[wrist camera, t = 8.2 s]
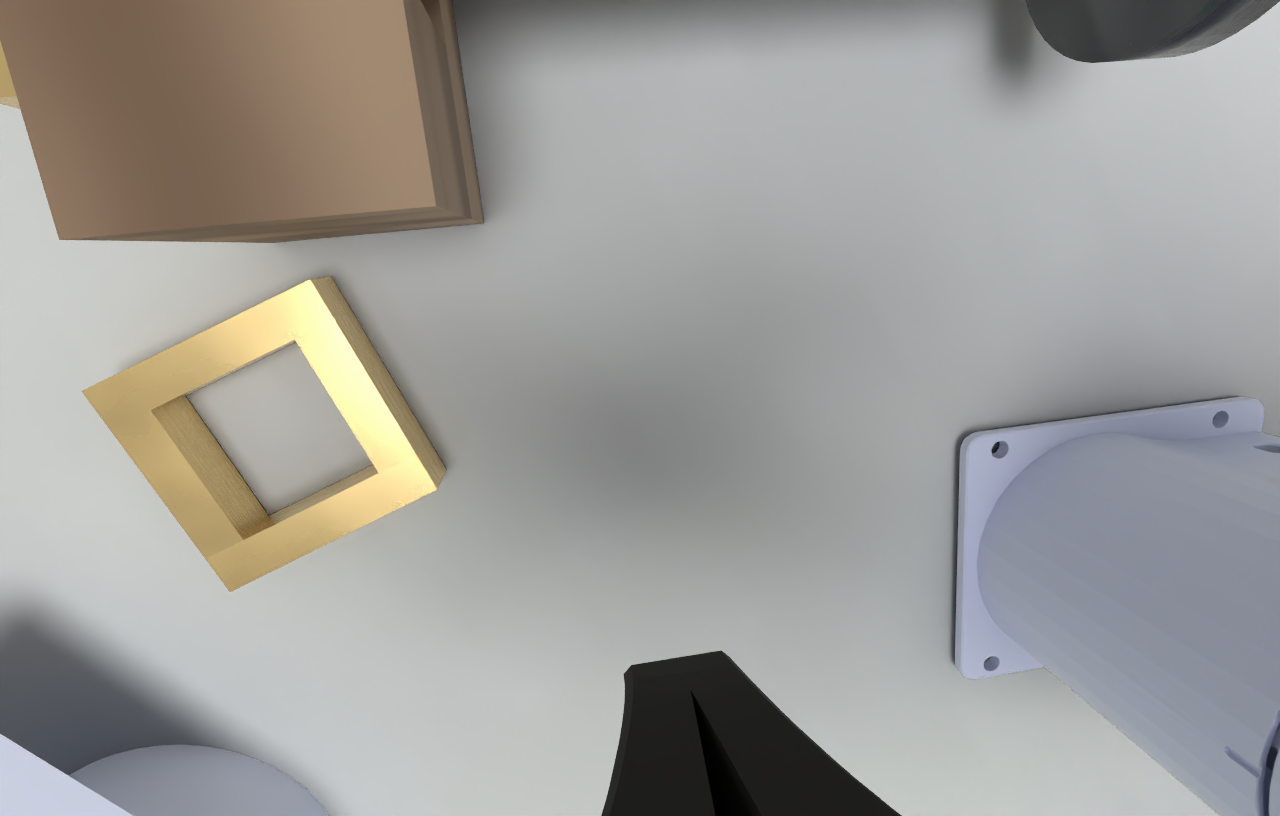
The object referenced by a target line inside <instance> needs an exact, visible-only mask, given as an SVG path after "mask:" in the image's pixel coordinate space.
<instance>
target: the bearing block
mask: <svg viewBox="0 0 1280 816" xmlns="http://www.w3.org/2000/svg"><path fill="white" fill-rule="evenodd" d="M0 41H1V45H2V48H3V52H4V55H5V58H6V62H7V65H8V68H9V72H10V75H11V78H12V82H13V85H14V89H15V92H16V95H17V99H18V102H19V105H20V109H21V112H22V116H23V119H24V122H25V126H26V129H27V132H28V136H29V139H30V142H31V146H32V149H33V153H34V156H35V159H36V163H37V166H38V169H39V173H40V176H41V180H42V183H43V186H44V190H45V193H46V196H47V200H48V203H49V207H50V210H51V213H52V217H53V220H54V223H55V227H56V230H57V233H58V237H59V240H113V241H182V242H251V243H276V242H287V241H297V240H308V239H319V238H330V237H341V236H352V235H362V234H373V233H384V232H395V231H406V230H417V229H427V228H438V227H449V226H460V225H471V224H482V223H484V218H483V211H482V204H481V197H480V190H479V183H478V176H477V170H476V163H475V156H474V149H473V142H472V135H471V128H470V121H469V114H468V108H467V101H466V94H465V87H464V80H463V73H462V66H461V59H460V53H459V46H458V39H457V32H456V25H455V18H454V11H453V4H452V0H0Z"/></svg>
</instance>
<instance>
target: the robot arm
mask: <svg viewBox="0 0 1280 816" xmlns="http://www.w3.org/2000/svg"><path fill="white" fill-rule="evenodd" d="M1215 415H1216V416H1215ZM1214 416H1215V419H1214V420H1213V418H1214ZM1263 419H1264V406H1263V404H1262V403H1261V402H1260V401H1259V400H1257V399H1254V398H1249V397H1234V398H1227V399H1219V400H1212V401H1204V402H1197V403H1189V404H1182V405H1175V406H1167V407H1160V408H1152V409H1145V410H1137V411H1130V412H1122V413H1115V414H1107V415H1100V416H1092V417H1085V418H1077V419H1070V420H1062V421H1055V422H1047V423H1040V424H1032V425H1025V426H1017V427H1010V428H1002V429H995V430H987V431H980V432H975V433H972V434H970V435H969V436H967V437H966V438H965V439H964V441H963V442H962V444H961V448H960V470H959V511H958V553H957V594H956V636H955V665H956V668H957V669H958V671H959V672H960V673H961V674H962V675H963V676H964V677H966V678H968V679H980V678H985V677H991V676H997V675H1003V674H1008V673H1014V672H1020V671H1026V670H1031V669H1037V668H1043V667H1045V668H1047V669H1048V670H1049V671H1050V672H1051V673H1052V674H1054V675H1055V676H1056V677H1057V678H1058V679H1060V680H1061V681H1062V682H1063V683H1064V684H1065V685H1067V686H1068V687H1069V688H1070V689H1071V690H1072V691H1074V692H1075V693H1076V694H1077V695H1078V696H1080V697H1081V698H1082V699H1083V700H1084V701H1085V702H1087V703H1088V704H1089V705H1090V706H1091V707H1092V708H1094V709H1095V710H1096V711H1097V712H1098V713H1100V714H1101V715H1102V716H1103V717H1104V718H1105V719H1107V720H1108V721H1109V722H1110V723H1111V724H1112V725H1114V726H1115V727H1116V728H1117V729H1118V730H1120V731H1121V732H1122V733H1123V734H1124V735H1125V736H1127V737H1128V738H1129V739H1130V740H1131V741H1132V742H1134V743H1135V744H1136V745H1137V746H1138V747H1140V748H1141V749H1142V750H1143V751H1144V752H1145V753H1147V754H1148V755H1149V756H1150V757H1151V758H1152V759H1154V760H1155V761H1156V762H1157V763H1158V764H1160V765H1161V766H1162V767H1163V768H1164V769H1165V770H1167V771H1168V772H1169V773H1170V774H1171V775H1172V776H1174V777H1175V778H1176V779H1177V780H1178V781H1180V782H1181V783H1182V784H1183V785H1184V786H1185V787H1187V788H1188V789H1189V790H1190V791H1191V792H1192V793H1194V794H1195V795H1196V796H1197V797H1198V798H1200V799H1201V800H1202V801H1203V802H1204V803H1205V804H1207V805H1208V806H1209V807H1210V808H1211V809H1212V810H1214V811H1215V812H1216V813H1217V814H1218V815H1220V816H1280V437H1278V436H1274V435H1270V434H1266V433H1263V432H1262V427H1263ZM1212 420H1213V422H1212ZM996 442H999V443H1000V446H999V449H998V450H997V451H996V452H995V453H993V454H992V452H991V450H992V447H993V445H994V444H995V443H996ZM989 657H991V658H990V660H989V661H988V662H986V663H984V662H985V660H986V659H987V658H989ZM624 681H625V704H624V714H623V721H622V728H621V734H620V741H619V745H618V750H617V755H616V759H615V764H614V768H613V773H612V778H611V782H610V787H609V791H608V795H607V798H606V802H605V805H604V809H603V812H602V816H901V815H900V814H899V813H897V812H896V811H895V810H894V809H892V808H891V807H890V806H889V805H887V804H886V803H885V802H884V801H882V800H881V799H880V798H879V797H878V796H876V795H875V794H874V793H873V792H871V791H870V790H869V789H868V788H867V787H865V786H864V785H863V784H862V783H860V782H859V781H858V780H857V779H856V778H854V777H853V776H852V775H851V774H850V773H849V772H847V771H846V770H845V769H844V768H843V767H842V766H841V765H839V764H838V763H837V762H836V761H835V760H834V759H832V758H831V757H830V756H829V755H828V754H827V753H826V752H825V751H824V750H823V749H822V748H820V747H819V746H818V745H817V744H816V743H815V742H814V741H813V740H812V739H811V738H809V737H808V736H807V735H806V734H805V733H804V732H803V731H802V730H801V729H800V728H799V727H797V726H796V725H795V724H794V723H793V722H792V721H791V720H790V719H789V718H788V717H787V716H786V715H785V714H784V713H783V712H782V711H781V710H780V709H779V708H778V707H777V706H776V705H775V704H774V703H773V702H772V701H771V700H770V699H769V698H768V697H767V696H766V695H765V694H764V693H763V692H762V691H761V690H760V689H759V688H758V687H757V686H756V685H755V684H754V683H753V682H752V681H751V680H750V679H749V678H748V677H747V675H746V674H745V673H744V672H743V671H742V670H741V669H740V668H739V667H738V666H737V665H736V664H735V663H734V661H733V660H732V659H731V658H730V657H729V656H727V655H726V654H725V653H724V652H722V651H716V652H710V653H704V654H697V655H691V656H685V657H679V658H673V659H667V660H661V661H654V662H648V663H642V664H636V665H631V666H630V667H629V669H628V670H627V671H626V672H625V673H624Z"/></svg>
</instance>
